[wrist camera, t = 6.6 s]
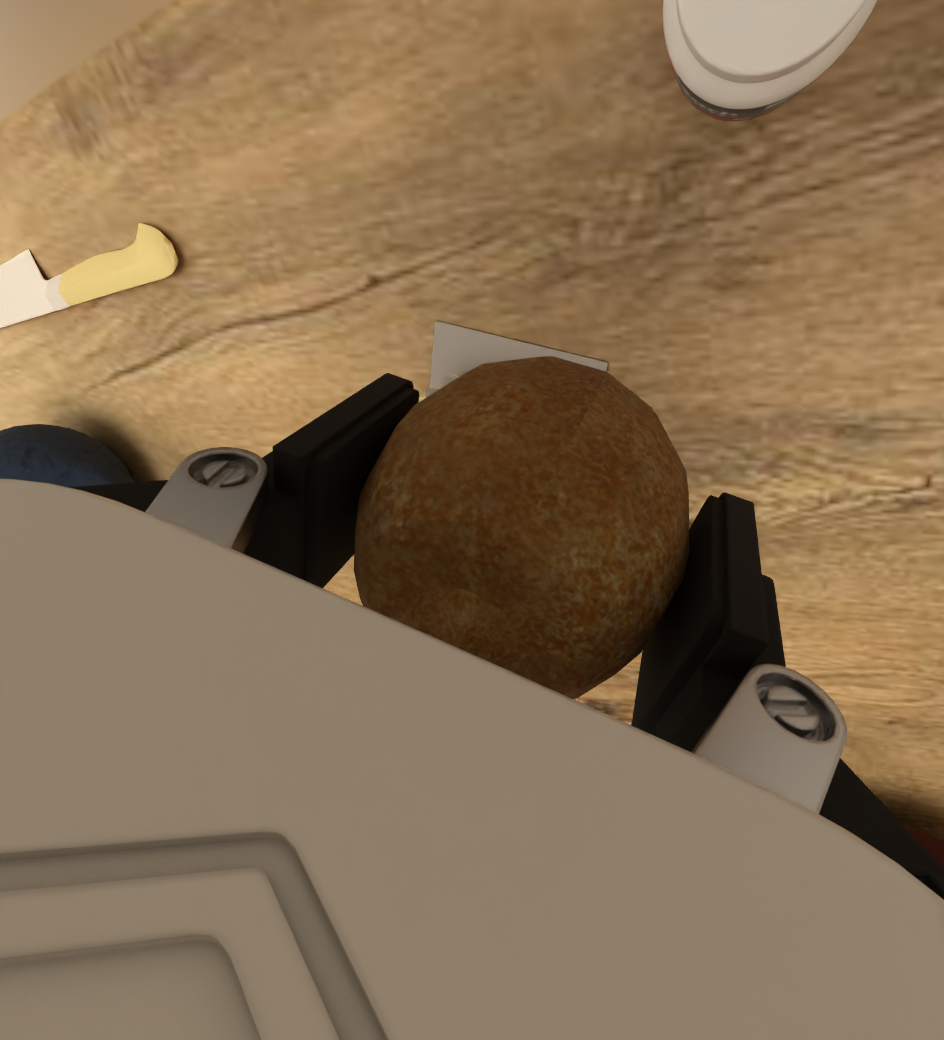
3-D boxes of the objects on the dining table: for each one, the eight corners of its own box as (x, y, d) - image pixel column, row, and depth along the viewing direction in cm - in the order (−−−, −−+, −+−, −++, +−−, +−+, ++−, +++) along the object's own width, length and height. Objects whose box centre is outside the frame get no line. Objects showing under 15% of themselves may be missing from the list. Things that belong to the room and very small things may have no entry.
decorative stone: (86, 507, 53) (-21, 565, 45) (38, 391, 46) (-98, 437, 39) (180, 536, 50) (82, 604, 42) (144, 417, 43) (19, 472, 36)
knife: (-102, 301, 46) (-77, 355, 47) (146, 191, 32) (172, 272, 33) (-83, 301, 47) (-59, 354, 48) (165, 194, 33) (189, 273, 34)
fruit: (413, 420, 15) (203, 599, 9) (582, 250, 11) (423, 356, 5) (556, 573, 16) (459, 828, 10) (754, 464, 13) (794, 764, 6)
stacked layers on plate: (423, 457, 36) (384, 497, 31) (435, 320, 31) (390, 345, 26) (569, 501, 34) (548, 551, 29) (608, 362, 28) (590, 397, 24)
